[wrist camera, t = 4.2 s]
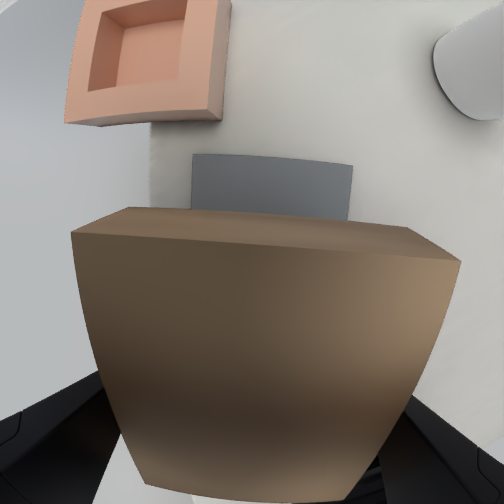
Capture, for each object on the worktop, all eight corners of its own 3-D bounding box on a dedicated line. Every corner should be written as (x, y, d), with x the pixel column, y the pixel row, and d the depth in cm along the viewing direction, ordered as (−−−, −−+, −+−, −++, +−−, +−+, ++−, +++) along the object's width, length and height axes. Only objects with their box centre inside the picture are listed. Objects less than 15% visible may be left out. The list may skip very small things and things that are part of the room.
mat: (323, 344, 19) (324, 347, 19) (194, 334, 20) (193, 337, 20) (351, 165, 16) (352, 165, 15) (194, 154, 16) (192, 154, 16)
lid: (336, 450, 9) (343, 500, 7) (162, 436, 10) (145, 483, 7) (407, 227, 7) (461, 260, 4) (128, 206, 7) (70, 231, 5)
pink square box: (222, 120, 15) (207, 109, 12) (101, 126, 16) (63, 123, 12) (231, 4, 13) (221, -29, 9) (115, 20, 13) (85, -1, 10)
